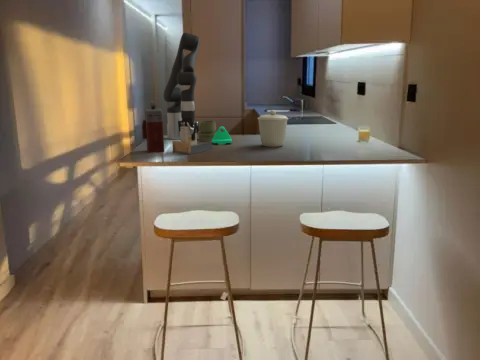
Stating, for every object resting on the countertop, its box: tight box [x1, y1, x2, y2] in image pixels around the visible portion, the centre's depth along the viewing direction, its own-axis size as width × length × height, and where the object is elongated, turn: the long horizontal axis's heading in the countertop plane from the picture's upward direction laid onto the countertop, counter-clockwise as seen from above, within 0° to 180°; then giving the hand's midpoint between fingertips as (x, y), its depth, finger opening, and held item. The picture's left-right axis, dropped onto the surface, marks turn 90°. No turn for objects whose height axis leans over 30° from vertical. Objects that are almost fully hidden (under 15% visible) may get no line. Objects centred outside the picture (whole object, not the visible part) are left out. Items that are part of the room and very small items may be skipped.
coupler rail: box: [172, 140, 214, 155], centre depth 257 cm, size 12×20×6 cm, turn 143°
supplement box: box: [180, 126, 198, 146], centre depth 254 cm, size 8×5×13 cm, turn 142°
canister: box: [257, 109, 289, 148], centre depth 269 cm, size 18×18×21 cm
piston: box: [198, 120, 217, 143], centre depth 294 cm, size 11×12×11 cm
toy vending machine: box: [141, 100, 165, 154], centre depth 254 cm, size 9×11×28 cm
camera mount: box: [211, 126, 233, 146], centre depth 280 cm, size 12×8×10 cm, turn 92°
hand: (188, 139), depth 254 cm, fingers open, 6 cm apart
